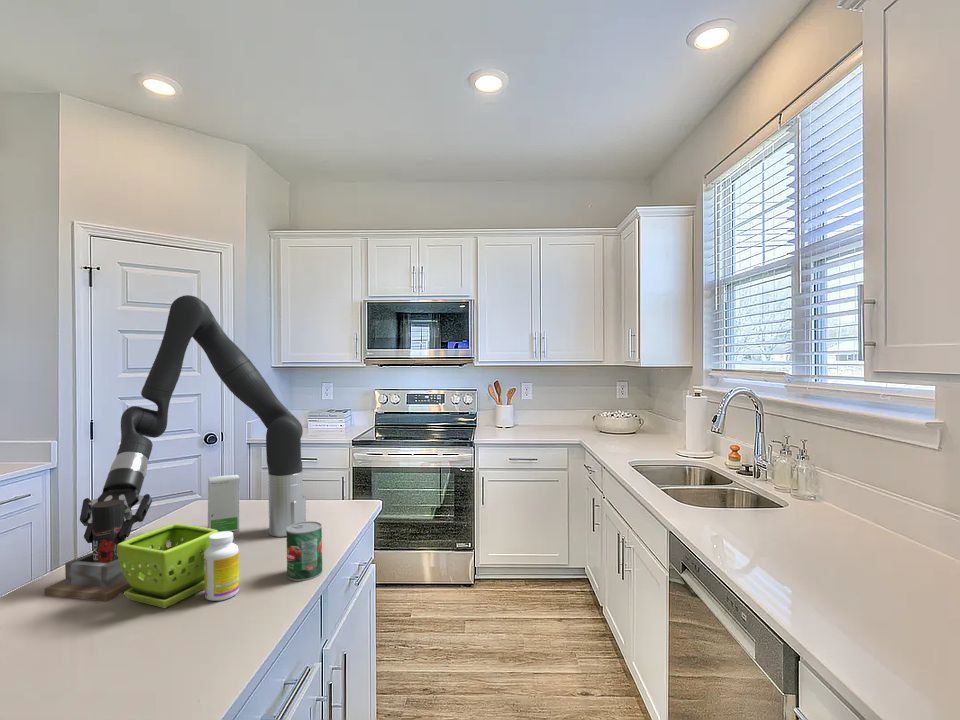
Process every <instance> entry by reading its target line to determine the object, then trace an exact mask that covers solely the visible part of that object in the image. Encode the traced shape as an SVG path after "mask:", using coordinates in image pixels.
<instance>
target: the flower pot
mask: <svg viewBox="0 0 960 720" xmlns="http://www.w3.org/2000/svg"><path fill="white" fill-rule="evenodd" d="M217 532H218V531H217V530H214V529H210V528H208V527H203V526H197V525H190V524H184V523H183V524H182V523H172V524H169V525H166V526H163V527H159V528H156V529H154V530H151V531H148V532H145V533H142V534H140V535H136V536H134V537H131V538H129V539H126V540H125V541H124V542H121V543H119V544H118V545H117V552H118V558H119V563H120V566H121V569H122V572H123V574H124V576H125V578H126V580H127V581H128V583H129V584H130V586H131V587H132V588H131V589H129V590H127V591H125V592H124V593H123V594H124V595H125V597H127V598H128V599H130V600H132V601H134V602H139V603H142V604H146V605H150V606H153V607H154V606H155V607H159V608H163V609H166V608H169V607H170V606H172V605H175V604H177V603H179V602H181V601H183V600H185V599H186V598H188V597H191V596H192V595H195V594H196V593H198V592H200V591H205V586H204V552H205V550H206V549H207V548H208V547H210V544H209V536H210V535H211V534H214V533H217ZM167 542H170V545H171V546H170V547H169V548H167V546H166V545H167ZM149 546H151V547H152V549H151V548H147V547H149ZM159 547H160V550H158V548H159ZM139 563H140V564H139Z"/></svg>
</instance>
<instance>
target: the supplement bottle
mask: <svg viewBox="0 0 960 720" xmlns="http://www.w3.org/2000/svg"><path fill="white" fill-rule="evenodd" d="M233 540H234V532H230V531H223V532H217V533H214V534H211V535H210V536H209V544H210V547H208V548H207V549H206V550H205V552H204V586H205V588H204V598H205V599H206V600H207V601H211V602H212V601H213V602H219V601H224V600H227V599H230V598H232V597H234V596H235V595H237V594H238V593H239V591H240V563H239V562H240V561H239V559H240V557H239V556H240V555H239V552H240V551H239V547H238V545H237V544H236V543H234V542H233Z"/></svg>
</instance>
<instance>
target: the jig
mask: <svg viewBox="0 0 960 720" xmlns="http://www.w3.org/2000/svg"><path fill="white" fill-rule="evenodd" d="M166 546H167V548H169V547H170V546H171V544H170V545H169V544H168V545H167V544H166ZM147 548H151V549H152V547H151V546H149V547H147ZM158 550H160V547H159V548H158ZM64 564H65V565H64V566H65V568H64V570H65V575H64V576H65V579H62V580H60V581H58V582H55V583H52V584H50V585H49V586H46V587H44V596H52V597H59V598H60V597H61V598H62V597H63V598H72V599H79V598H80V600H89V601H90V600H91V601H100V602H108V601H110V600H111V599H113V598H116V597H117V596H120V595H121V594H124V592H125V591H127V590H129V589H131V588H132V587H131V586H130V584H129V583H128V581H127V580H126V578H125V576H124V574H123V572H122V569H121V566H120V563H119V559H117V560H115V561H112V562H110V563H108V564H106V563H95V562H93V551H91V552H89V553H87V554H85V555H82V556H80V557H78V558H76V559H73V560H69V561H68V562H65V563H64ZM139 564H140V563H139Z"/></svg>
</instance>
